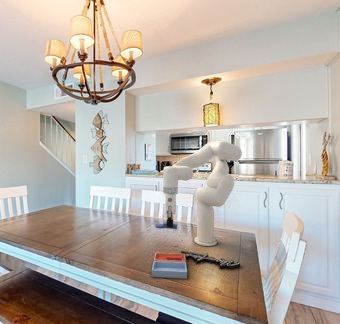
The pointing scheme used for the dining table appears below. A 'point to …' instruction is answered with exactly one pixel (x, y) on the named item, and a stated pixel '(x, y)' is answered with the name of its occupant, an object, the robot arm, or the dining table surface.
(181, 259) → the red spoon
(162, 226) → the blue spoon
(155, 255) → the red bin
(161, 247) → the dining table surface
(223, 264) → the nameplate
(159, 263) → the blue bin
